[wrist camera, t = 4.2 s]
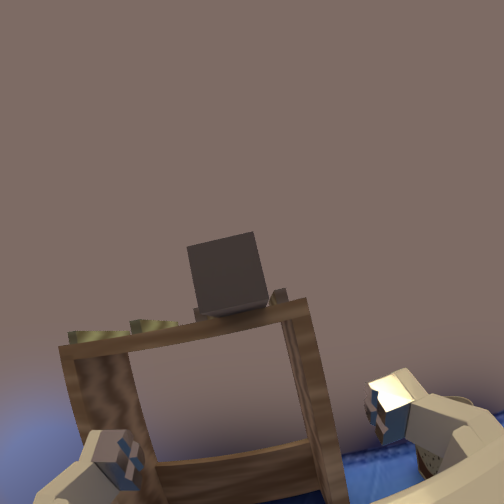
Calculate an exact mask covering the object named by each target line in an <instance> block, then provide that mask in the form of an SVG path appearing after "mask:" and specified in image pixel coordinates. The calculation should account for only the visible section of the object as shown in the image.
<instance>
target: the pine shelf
mask: <svg viewBox="0 0 504 504" xmlns="http://www.w3.org/2000/svg"><path fill="white" fill-rule="evenodd" d="M269 305H270V306H268V307H264V308H259V309H255V310H251V311H246V312H242V313H238V314H233V315H228V316H224V317H213V316H208V315H202V314H200V312H199V307H198V308H194V309H193V310H194V314H195V320H196V322H195V323H190V324H186V325H180V326H178V322H172V321H171V322H170V321H155V320H141V319H140V320H134V321H130V327H131V332H132V335H130V332H129V331H73V332H68V338H69V343H70V345H63V346H59V347H58V348H59V353H60V358H61V363H62V368H63V373H64V377H65V382H66V386H67V390H68V394H69V398H70V402H71V406H72V410H73V413H74V417H75V420H76V424H77V427H78V430H79V433H80V437H81V439H82V443H83V446H84V445H85V442H86V440H87V437H88V434H89V432H90V431H92V430H126V429H127V430H130V431H131V432H132V434H133V435H134V439H133V440H134V441H135V442H137V443H139V444H140V446H141V447H142V449H143V452H144V455H145V466H144V468H143V469H142V470H141V471H140V473H141V475H142V476H143V478H142V484H141V490H140V491H120V492H119V494H118V495H117V496H116V497H115V499H114V500H113V501H112V502H111V504H255V503H262V502H267V501H273V500H278V499H283V498H287V497H292V496H296V495H301V494H305V493H309V492H313V491H317V490H320V491H321V493H322V496H323V498H324V501H325V503H326V504H350V502H349V496H348V490H347V485H346V479H345V474H344V468H343V463H342V458H341V452H340V447H339V442H338V437H337V432H336V428H335V422H334V418H333V413H332V408H331V404H330V399H329V394H328V390H327V385H326V380H325V376H324V372H323V367H322V363H321V358H320V354H319V349H318V345H317V341H316V337H315V332H314V328H313V324H312V320H311V316H310V311H309V307H308V303H307V299H306V297H305V298H301V299H297V300H293V301H289V300H288V296H287V292H286V288H282V289H278V290H274V292H273V294H272V296H271V298H270V300H269ZM278 322H281V325H282V329H283V334H284V338H285V342H286V346H287V350H288V354H289V359H290V363H291V368H292V372H293V376H294V380H295V385H296V389H297V393H298V397H299V402H300V406H301V411H302V415H303V420H304V423H305V428H306V433H307V437H308V438H307V439H304V440H299V441H295V442H291V443H287V444H283V445H278V446H274V447H269V448H264V449H260V450H254V451H249V452H243V453H237V454H231V455H225V456H218V457H210V458H201V459H193V460H182V461H170V462H158V461H157V458H156V455H155V452H154V450H153V447H152V443H151V440H150V437H149V433H148V430H147V427H146V423H145V420H144V417H143V413H142V409H141V406H140V402H139V398H138V394H137V390H136V386H135V382H134V378H133V374H132V370H131V365H130V361H129V356H128V352H133V351H139V350H145V349H151V348H157V347H163V346H169V345H174V344H180V343H185V342H190V341H195V340H200V339H205V338H210V337H215V336H220V335H225V334H230V333H234V332H238V331H243V330H248V329H252V328H257V327H261V326H265V325H269V324H273V323H278Z"/></svg>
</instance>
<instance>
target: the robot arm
mask: <svg viewBox="0 0 504 504" xmlns="http://www.w3.org/2000/svg"><path fill="white" fill-rule="evenodd" d="M364 391H365V393H366V395H367V397H366V398H365V400H364V407H365V411H366V415H367V418H368V420H369V422H370V424H372V425H374V426H376V428H375V433H376V435H377V437H378V439H379V441H380V443H381V444H382V446H383V445H386V444H389V443H392V442H394V441H397V440H399V439H402V438H404V437H405V439H407V440H409V441H411V442H412V443H414V444H416V445H418V446H420V447H422V448H424V449H426V450H428V451H430V452H431V453H433V454H435V455H437V456H439V457H441V458H443V460H442V463H441V465H440V468H439V470H438V472H437V475H435V476H433V477H431V478H429V479H427V480H425V481H423V482H420V483H418V484H416V485H414V486H412V487H410V488H407V489H405V490H403V491H400V492H398V493H396V494H393V495H391V496H388V497H386V498H383V499H381V500H378V501H375V502H373V503H370V504H504V428H503V427H502V425H501V424H500V423H499V422H498V421H497V420H496V419H495V418H494V416H493V415H492V414H491V413H490V412H489V411H488V410H485V409H482V408H479V407H475V406H472V405H468V404H465V403H462V402H458V401H455V400H452V399H449V398H445V397H442V396H439V395H436V394H433V393H432V394H430V395H429V394H428V393H427V392H426V391H425V390H424V388H423V387H422V386H421V385H420V383H419V382H418V381H417V380H416V379H415V377H414V376H413V375H412V374H411V372H410V371H409V370H408V369H407V368H403V369H401V370H398V371H395V372H393V373H390V374H388V375H385V376H382V377H379V378H377V379H374V380H371V381H368V382H366V383H365V387H364ZM133 439H134V435H133V434H132V432H131V431H130V430H127V429H126V430H92V431H90V432H89V434H88V437H87V440H86V442H85V445H84V448H83V451H82V453H81V456H80V459H79V462H74V463H73V464H72V465H70V467H68V468H67V469H66V470H64V471H63V472H62V473H61V474H60V475H59V476H57V477H56V478H55V479H54V480H53V481H52V482H50V483H49V484H48V485H46V486H45V487H44V488H43V489H42V490H40V491H39V492H38V493H37V494H36V497H35V499H34V502H33V504H111V502H112V501H113V500H114V499H115V497H116V496H117V495H118V494H119V492H120V491H140V490H141V484H142V478H143V476H142V475H141V473H140V471H141V470H142V469H143V468H144V466H145V455H144V452H143V449H142V447H141V446H140V444H139V443H137V442H135V441H134V440H133Z"/></svg>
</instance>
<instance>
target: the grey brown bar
mask: <svg viewBox="0 0 504 504" xmlns="http://www.w3.org/2000/svg"><path fill="white" fill-rule="evenodd" d="M187 251H188V257H189V262H190V267H191V272H192V277H193V283H194V287H195V293H196V298H197V302H198V307H199V312H200V314H202V315H208V316H213V317H224V316H228V315H233V314H238V313H242V312H246V311H251V310H255V309H259V308H264V307H266V305H267V303H268V300H269V296H268V291H267V287H266V283H265V279H264V275H263V271H262V266H261V262H260V258H259V254H258V250H257V246H256V241H255V237H254V233H253V232H248V233H244V234H240V235H236V236H231V237H227V238H222V239H218V240H214V241H209V242H205V243H201V244H196V245H192V246H188V247H187Z"/></svg>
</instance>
